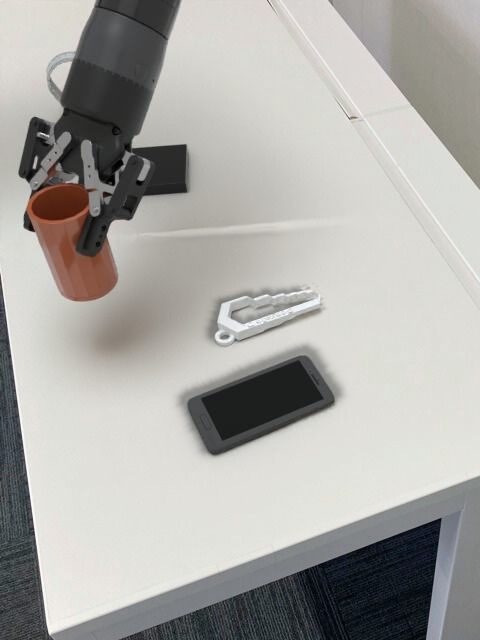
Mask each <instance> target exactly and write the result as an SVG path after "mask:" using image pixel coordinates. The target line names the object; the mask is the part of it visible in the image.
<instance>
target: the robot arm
mask: <svg viewBox="0 0 480 640" xmlns="http://www.w3.org/2000/svg"><path fill="white" fill-rule="evenodd" d="M182 2H183V0H95V2H94V4H93V8H92V10H91V12H90V15H89V17H88V19H87V21H86V23H85V25H84V26H83V29H82V31H81V34H80V37H79V40H78V43H77V46H76V49H75V55H74V58H73V61H72V62H71V63H70V67H69V70H68V74H67V77H66V78H65V79H66V80H65V83H64V86H63V89H62V95H61V98H60V102H59V104H60V106H61V107H62V109H63V110H62V114H61V116H60V117H59V118H58V120H57V121H56V122H51V121H49V120H46V119H44V118H41V117H38V116H32V117H31V118H30V120H29V124H28V127H27V132H26V136H25V141H24V146H23V149H22V155H21V158H20V161H19V162H20V163H19V167H18V170H17V171H18V176H19V178H21V179H22V180H23V179H24V180H25V181H26V183H28V184H29V188H30V189H31V190H30V191H31V192H30V195H29V198H28V201H29V200H30V199H31V198H32V196H33V195H34V194H35V193H37V192H39V191H40V190H42V189H44V188H46V187H49V186H52V185H55V184H59V183H68V182H71V181H72V180H74V179H75V178H76V176H78V178H79V177H81V178H83V179H84V184H85V189H86V191H87V192H88V194H89V210H90V214H91V216H90V215H87V216H86V219H85V222H84V225H83V227H82V230H81V233H80V236H79V239H78V242H77V245H76V249H75V250H76V252H77V253H79V254H81V255H83V256H88V257H95V256H96V255H97V253H99V252H100V251H101V250H102V247H103V245H104V242H105V239H106V236H107V237H108V233H109V229H110V227H111V224H112V223H113V222H114V221H128V222H129V221H131V220H133V218H134V216H135V214H136V212H137V210H138V208H139V206H140V203H141V201H142V200H143V197H144V196H143V195H144V192H145V190H146V188H147V186H148V184H149V182H150V179H151V177H152V175H153V173H154V171H155V164H154V163H153V162H152V161H149V160H147V159H144V158H142V157H139V156H137V155H135V154H133V153H132V148H133V140H134V138H135V137H136V136H139V135H140V134H141V132H142V128H143V126H144V123H145V120H146V117H147V115H148V111H149V109H150V106H151V103H152V100H153V97H154V94H155V91H156V88H157V86H158V82H159V79H160V76H161V74H162V70H163V67H164V63H165V58H166V54H167V53H166V52H167V48H168V44H169V41H170V38H171V36H172V32H173V29H174V27H175V23H176V21H177V18H178V14H179V11H180V8H181V5H182ZM36 158H37V159H36ZM35 160H36V164H35ZM34 165H35V168H34ZM120 168H121V171H122V175H121V177H120V179H119V173H118V170H119V169H120ZM104 181H105V184H104V183H102V182H104ZM26 208H27V206H26V207H25V211H24V214H23V218H22V219H23V220H22V221H23V224H22V225H23V226H22V227H23V228H24V230H26V231H28V232H31V233H35V231H34V228H33V226H32V223H31V221H30V218H29V215H28V213H27V210H26Z"/></svg>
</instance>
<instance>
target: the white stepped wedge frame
mask: <svg viewBox="0 0 480 640" xmlns="http://www.w3.org/2000/svg"><path fill="white" fill-rule="evenodd" d="M313 296H314V297H316V298H314V299H311V300H308V301H305V302H303V303H300V304H297V305H294V306H292V307H288V308H286V309H283V310H280V311H277V312H274V313H271V314H269V315H266V316H262V317H260V318H257V319H254V320H252V321H248V322H245V323H242V322H241V323H240V322H239V321H236V320H235V319H233V318H232V315H233V314H232V313H233V312H235V311H237V310H240V309H243V308H247V307H249V306H250V307H252V308H255V309H256V310H257V309H258V307H262V306H264V305H268V304H271V305H274V306H276V305H277V304H279V303H281V302H288V303H290V301H291V300H294V299H301V298H305V297H306V298H310V297H313ZM321 301H322V294H321V293H319V292H317V291H315V290H312V289H307V290H300V291H297V292H296V291H292V292H290V293H287V294H285V293H283V292H281V293H278V294H276V295H274V296H271V295H270V294H267V293H266V294H263V295H259V296H257V297H254V298H252V297H249V295H243V296H241V297H237V298H235V299H232V300H229V301H226V302H223V303H221V305H220V309H219V313H218V318H217V320H216V321H217V322H216V323H217V328H218V330H217V331H216V332H215V334H214V340H215V344H216V345H218V346H220V347H228V346H231V345H232V344H234V343H235V341H236V340H237V341H240V340H244V339H247V338H250V337H253V336H255V335H258V334H261V333H264V331H266V330H268V329H272V328H274V327H276V326H279V325H282V324H283V323H284V322H287V321H290V320H292V319H295V318H296V317H297V316H299V315H303V314H305V313H308V312H311V311H313V310H317V309H320V308H321ZM224 336H228V338H226V339H222V337H224Z"/></svg>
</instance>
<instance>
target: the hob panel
mask: <svg viewBox="0 0 480 640" xmlns="http://www.w3.org/2000/svg"><path fill="white" fill-rule="evenodd" d="M132 153H133V154H135V155H137V156H139V157H142V158H144V159H147V160H149V161H152V162H153V163H154V164H155V171H154V173H153V175H152V177H151V179H150V182H149V184H148V186H147V188H146V190H145V192H144V195H143V197H148V196H149V197H150V196H163V195H175V194H188V192H189V191H188V190H189V189H188V188H189V187H188V185H189V158H190V157H189V156H190V155H189V149H188V144H187V143H180V144H168V145H154V146H141V147H132ZM119 179H120V178H119ZM102 183H104V184H105V181H104V182H102ZM77 184H82V185H84V186H85V184H84V179H83V178H81V177H79V176H78V180H77Z"/></svg>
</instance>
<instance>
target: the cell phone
mask: <svg viewBox="0 0 480 640" xmlns="http://www.w3.org/2000/svg"><path fill="white" fill-rule="evenodd" d="M335 398H336V397H335V395H334V393H333V391H332V390H331V387H329V385H328V384H327V382H326V380H325V378H323V376H322V374H321V373H320V371H319V369H318V368H317V367H316V365H315V364H314V362H313V361H312V359H311V358H310V357H309V356H308V355H306V354H303V355H302V354H301V355H297V356H295V357H291V358H289V359H287V360H284V361H281V362H279V363H276V364H274V365H271V366H269V367H266V368H264V369H261V370H258V371H256V372H253V373H251V374H248V375H246V376H244V377H241V378H238V379H235V380H233V381H231V382H228V383H225V384H223V385H220V386H217V387H215V388H213V389H210V390H208V391H205V392H202V393H200V394H198V395H195V396H192V397H191V398H189V399H188V401H187V409H188V412H189V413H190V414H189V415H190V416H191V418H192V420H193V422H194V424H195V426H196V428H197V430H198V432H199V434H200V437H201V439H202V440H203V442H204V444H205V447H206V449H207V450H208V451H209V452H210V453H211V454H213V455H214V454H219V453H220V454H221V453H222V452H224V451H228V450H229V449H232V448H234V447H236V446H239V445H242V444H244V443H246V442H248V441H251V440H253V439H255V438H258V437H261V436H263V435H265V434H268V433H270V432H272V431H275V430H277V429H280V428H283V427H284V426H287V425H289V424H292V423H294V422H296V421H299V420H301V419H303V418H306V417H308V416H310V415H313V414H316V413H318V412H320V411H323V410H326V409H327V408H329V407H331V406H332V405H333V404H334V403H335V400H336V399H335Z"/></svg>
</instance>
